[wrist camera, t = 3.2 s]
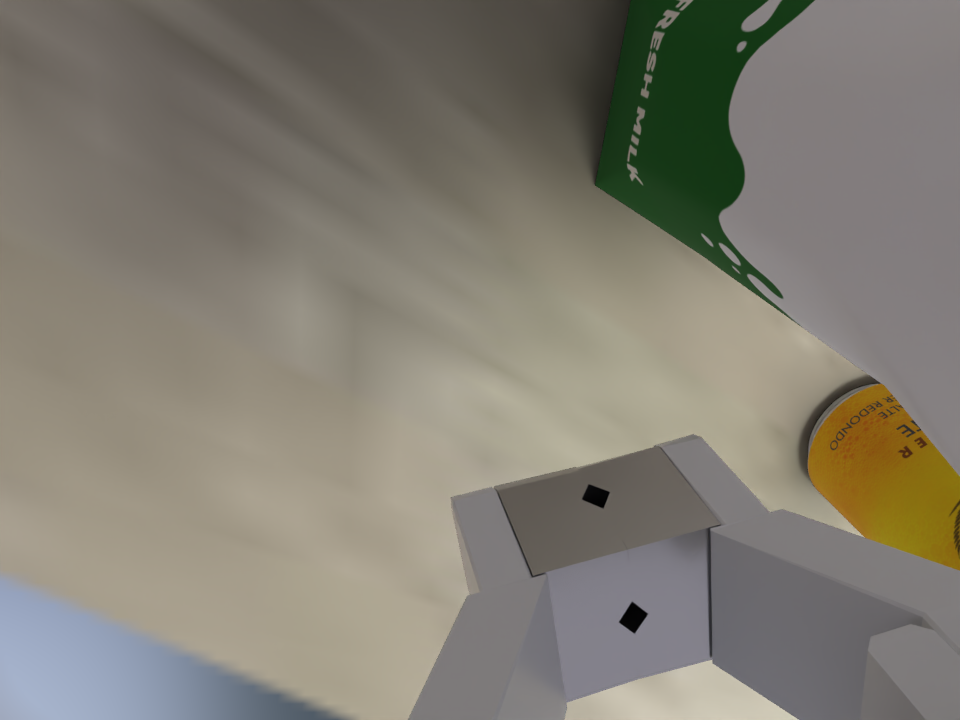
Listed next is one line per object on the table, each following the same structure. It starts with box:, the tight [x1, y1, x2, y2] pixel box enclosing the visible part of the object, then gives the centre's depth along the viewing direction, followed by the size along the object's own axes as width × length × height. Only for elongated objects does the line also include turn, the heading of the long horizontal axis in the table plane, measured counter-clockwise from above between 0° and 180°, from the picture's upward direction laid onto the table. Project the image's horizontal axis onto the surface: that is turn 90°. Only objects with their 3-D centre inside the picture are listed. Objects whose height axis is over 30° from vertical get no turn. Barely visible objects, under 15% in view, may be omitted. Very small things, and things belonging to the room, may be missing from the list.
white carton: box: [595, 0, 960, 476], centre depth 18 cm, size 9×9×20 cm
